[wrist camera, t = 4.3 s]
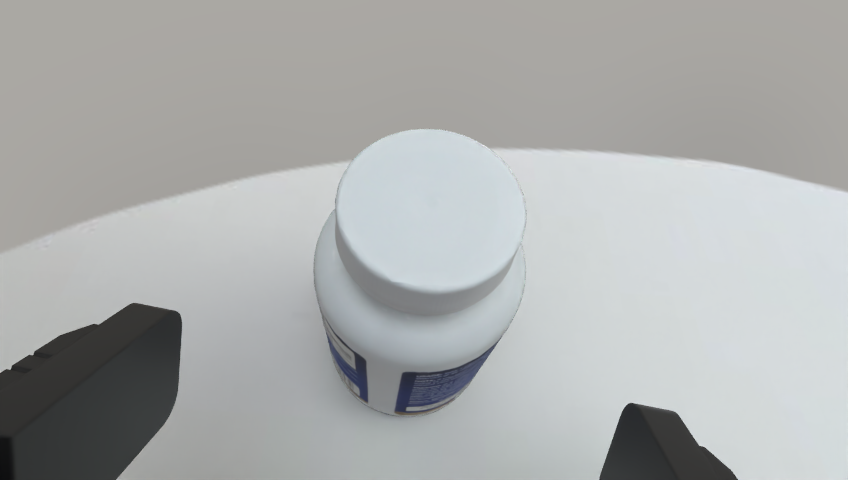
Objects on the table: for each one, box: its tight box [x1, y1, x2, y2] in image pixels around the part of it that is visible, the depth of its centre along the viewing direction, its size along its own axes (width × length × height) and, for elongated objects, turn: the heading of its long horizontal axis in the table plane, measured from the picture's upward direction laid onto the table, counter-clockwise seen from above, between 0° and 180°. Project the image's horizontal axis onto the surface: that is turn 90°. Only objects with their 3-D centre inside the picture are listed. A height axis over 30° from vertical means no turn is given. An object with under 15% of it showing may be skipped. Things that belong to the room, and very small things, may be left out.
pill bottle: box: [314, 129, 526, 417], centre depth 15 cm, size 5×5×10 cm
